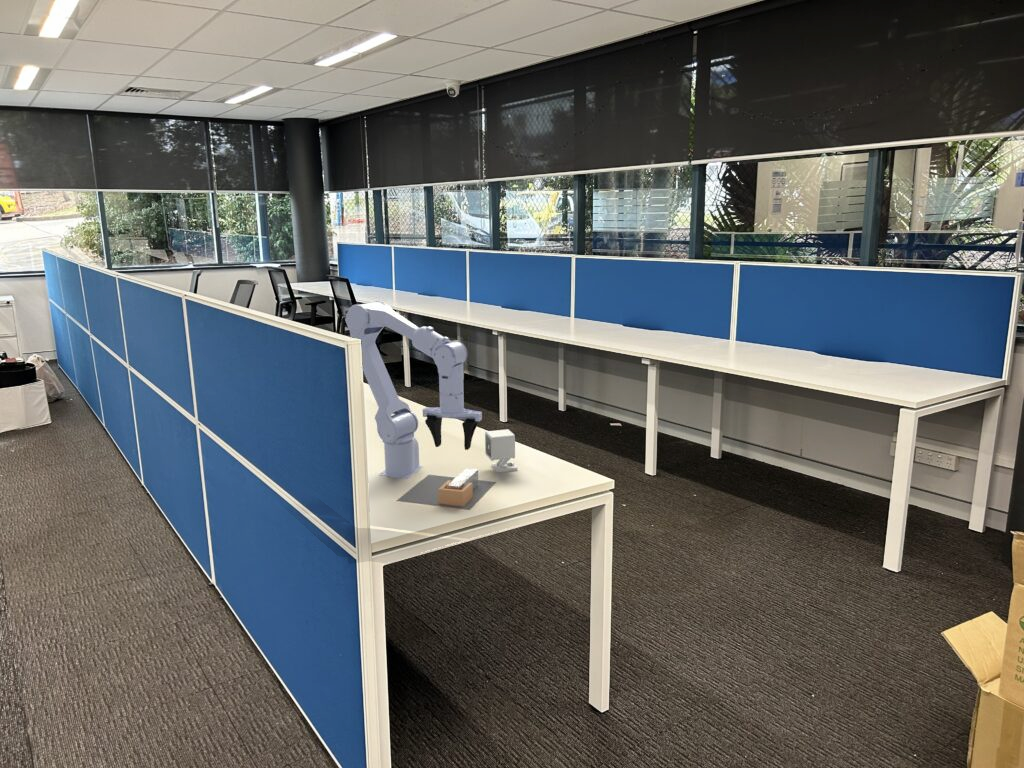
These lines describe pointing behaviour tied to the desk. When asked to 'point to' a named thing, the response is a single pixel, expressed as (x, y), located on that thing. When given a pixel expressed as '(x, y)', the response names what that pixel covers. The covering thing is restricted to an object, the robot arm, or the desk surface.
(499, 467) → the security camera
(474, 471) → the aluminium rail
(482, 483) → the mat
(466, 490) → the tan notched holder
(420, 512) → the desk surface
